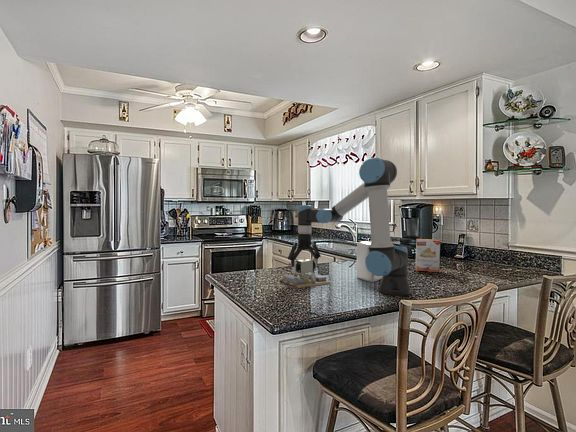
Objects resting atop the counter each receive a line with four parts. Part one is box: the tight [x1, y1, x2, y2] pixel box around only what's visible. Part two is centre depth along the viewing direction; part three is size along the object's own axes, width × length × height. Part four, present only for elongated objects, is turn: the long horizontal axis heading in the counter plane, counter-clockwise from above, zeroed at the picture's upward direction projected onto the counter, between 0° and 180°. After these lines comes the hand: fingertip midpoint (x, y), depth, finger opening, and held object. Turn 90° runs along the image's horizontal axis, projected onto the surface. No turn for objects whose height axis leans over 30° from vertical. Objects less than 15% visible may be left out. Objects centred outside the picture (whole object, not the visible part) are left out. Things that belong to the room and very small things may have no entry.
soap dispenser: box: [356, 240, 382, 283], centre depth 199 cm, size 15×14×22 cm
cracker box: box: [415, 238, 441, 273], centre depth 222 cm, size 14×6×21 cm, turn 73°
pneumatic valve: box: [295, 257, 316, 280], centre depth 190 cm, size 6×12×12 cm, turn 118°
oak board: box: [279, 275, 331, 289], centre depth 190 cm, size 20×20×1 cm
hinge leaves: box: [282, 272, 327, 284], centre depth 190 cm, size 20×19×5 cm
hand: (304, 271), depth 190 cm, fingers open, 13 cm apart
